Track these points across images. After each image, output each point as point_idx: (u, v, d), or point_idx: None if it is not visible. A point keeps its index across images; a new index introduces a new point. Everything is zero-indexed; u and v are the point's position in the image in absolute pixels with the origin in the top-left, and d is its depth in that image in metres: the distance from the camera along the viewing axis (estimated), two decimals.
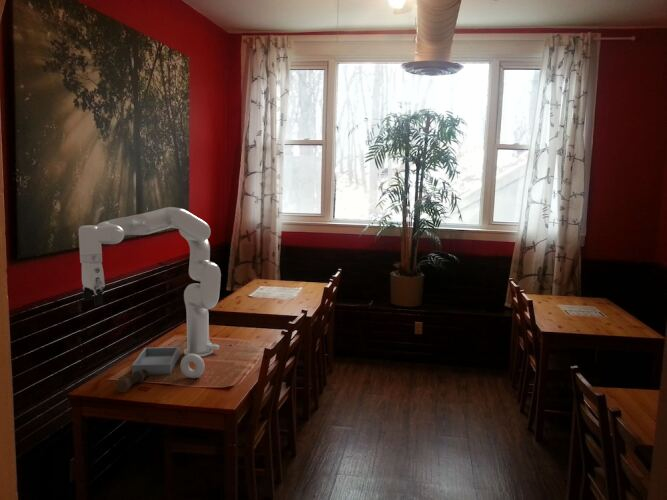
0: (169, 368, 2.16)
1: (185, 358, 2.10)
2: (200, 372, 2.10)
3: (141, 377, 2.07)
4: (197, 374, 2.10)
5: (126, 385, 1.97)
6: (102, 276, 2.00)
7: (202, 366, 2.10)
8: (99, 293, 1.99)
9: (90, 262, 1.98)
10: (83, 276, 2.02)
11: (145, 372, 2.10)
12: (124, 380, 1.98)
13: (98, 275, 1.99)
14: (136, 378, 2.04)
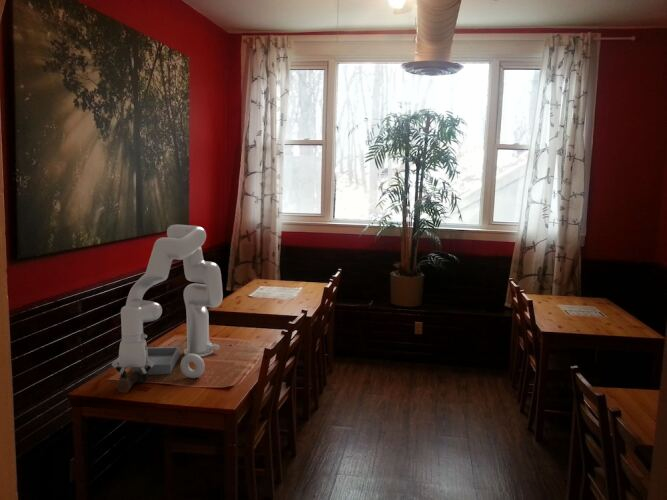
0: (169, 368, 2.16)
1: (185, 358, 2.10)
2: (200, 372, 2.10)
3: (140, 377, 2.07)
4: (197, 374, 2.10)
5: (127, 385, 1.97)
6: (147, 352, 2.06)
7: (202, 366, 2.10)
8: (148, 370, 2.05)
9: (140, 341, 2.01)
10: (125, 357, 2.01)
11: None
12: (125, 380, 1.97)
13: (146, 352, 2.04)
14: (136, 378, 2.04)
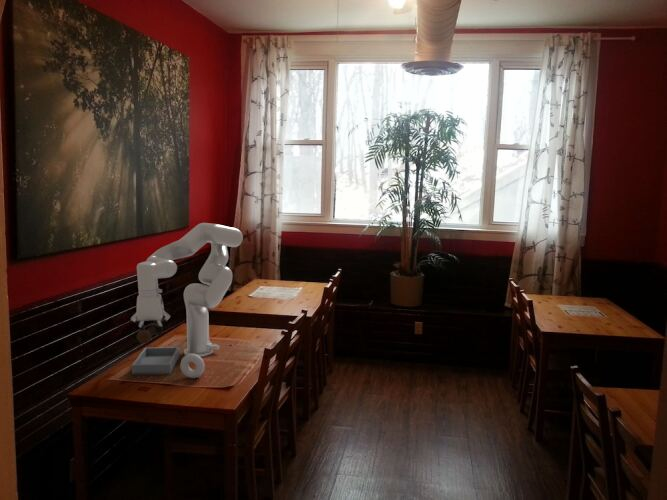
0: (169, 368, 2.16)
1: (185, 358, 2.10)
2: (200, 372, 2.10)
3: None
4: (197, 374, 2.10)
5: (147, 336, 2.10)
6: None
7: (202, 366, 2.10)
8: (163, 323, 2.18)
9: (156, 295, 2.14)
10: (143, 311, 2.14)
11: None
12: (145, 331, 2.10)
13: (162, 305, 2.17)
14: (154, 330, 2.17)
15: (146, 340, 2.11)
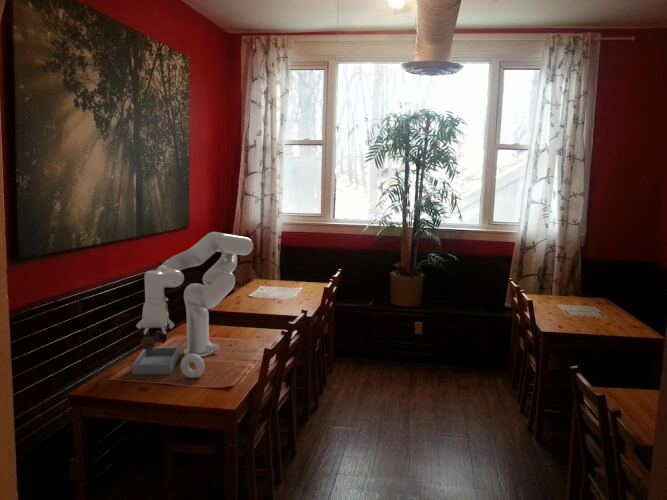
0: (169, 368, 2.16)
1: (185, 358, 2.10)
2: (200, 372, 2.10)
3: None
4: (197, 374, 2.10)
5: (151, 343, 2.16)
6: None
7: (202, 366, 2.10)
8: (167, 331, 2.23)
9: (162, 303, 2.20)
10: (148, 318, 2.20)
11: None
12: (149, 338, 2.16)
13: (167, 314, 2.23)
14: (158, 337, 2.23)
15: (150, 346, 2.16)
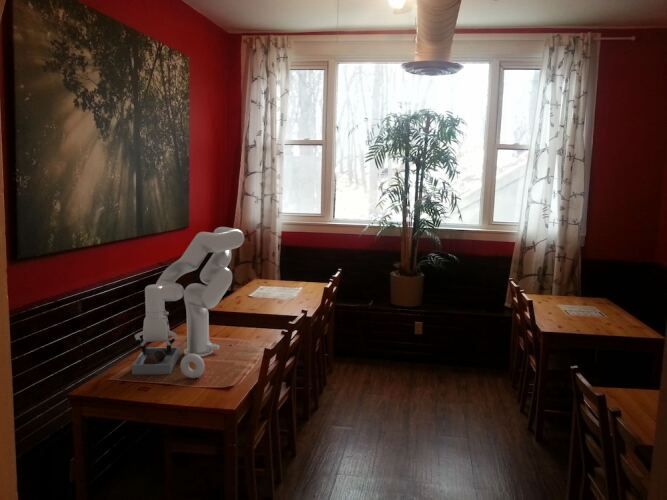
0: (169, 368, 2.16)
1: (185, 358, 2.10)
2: (200, 372, 2.10)
3: (163, 355, 2.27)
4: (197, 374, 2.10)
5: (154, 362, 2.17)
6: None
7: (202, 366, 2.10)
8: None
9: (162, 317, 2.21)
10: (149, 332, 2.21)
11: (165, 351, 2.30)
12: (152, 357, 2.17)
13: (168, 327, 2.24)
14: (159, 356, 2.24)
15: None
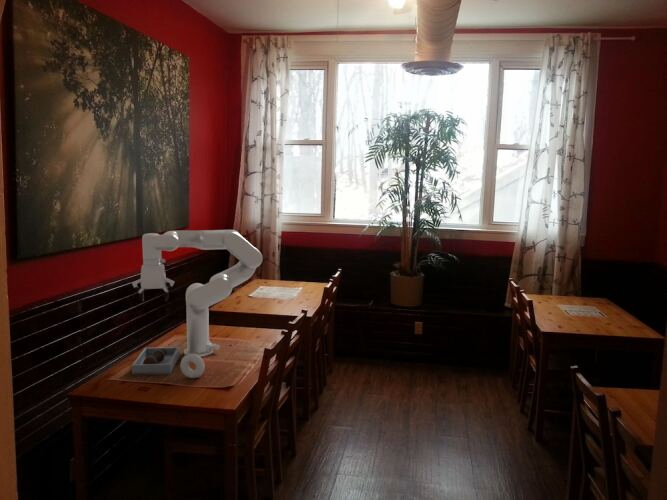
0: (169, 368, 2.16)
1: (185, 358, 2.10)
2: (200, 372, 2.10)
3: (162, 355, 2.27)
4: (197, 374, 2.10)
5: (154, 362, 2.17)
6: (165, 275, 2.33)
7: (202, 366, 2.10)
8: None
9: (160, 264, 2.28)
10: (147, 279, 2.28)
11: (164, 351, 2.30)
12: (152, 358, 2.17)
13: (165, 275, 2.31)
14: (159, 356, 2.24)
15: None
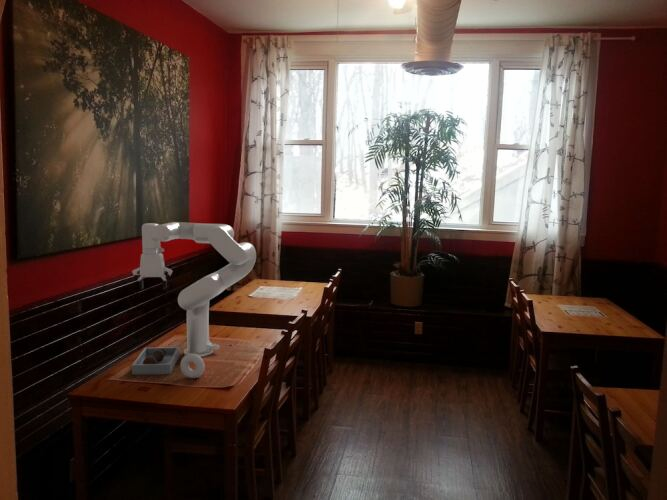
0: (169, 368, 2.16)
1: (185, 358, 2.10)
2: (200, 372, 2.10)
3: (162, 355, 2.27)
4: (197, 374, 2.10)
5: (154, 362, 2.17)
6: None
7: (202, 366, 2.10)
8: (167, 278, 2.39)
9: (158, 254, 2.35)
10: (146, 267, 2.35)
11: (164, 351, 2.30)
12: (151, 358, 2.17)
13: (163, 264, 2.38)
14: (159, 356, 2.24)
15: None
